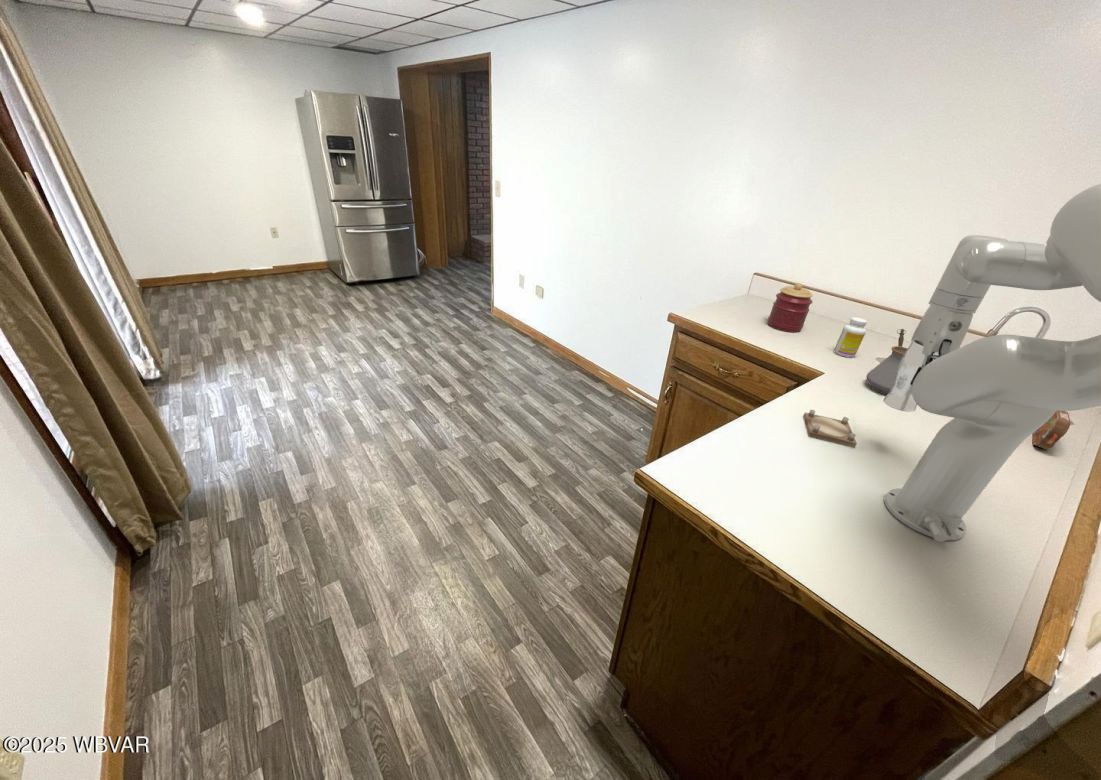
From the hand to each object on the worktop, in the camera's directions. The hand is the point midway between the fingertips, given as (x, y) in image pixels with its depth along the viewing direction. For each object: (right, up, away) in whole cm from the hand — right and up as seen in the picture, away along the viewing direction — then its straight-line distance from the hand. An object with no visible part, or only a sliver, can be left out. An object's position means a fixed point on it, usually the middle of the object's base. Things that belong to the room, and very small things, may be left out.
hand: (912, 378), depth 95 cm
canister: (+14, +23, +77) cm, 82 cm away
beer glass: (-1, -6, +3) cm, 7 cm away
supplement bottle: (+24, +10, +57) cm, 62 cm away
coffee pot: (+23, 0, +39) cm, 45 cm away
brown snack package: (+45, -16, +15) cm, 51 cm away
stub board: (-11, -13, +12) cm, 21 cm away
